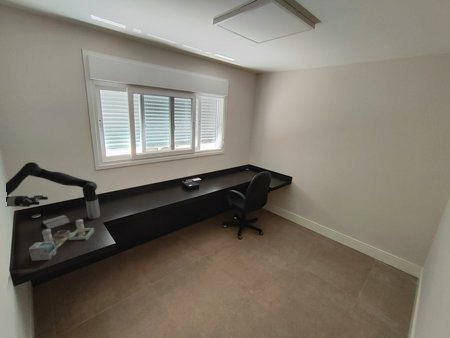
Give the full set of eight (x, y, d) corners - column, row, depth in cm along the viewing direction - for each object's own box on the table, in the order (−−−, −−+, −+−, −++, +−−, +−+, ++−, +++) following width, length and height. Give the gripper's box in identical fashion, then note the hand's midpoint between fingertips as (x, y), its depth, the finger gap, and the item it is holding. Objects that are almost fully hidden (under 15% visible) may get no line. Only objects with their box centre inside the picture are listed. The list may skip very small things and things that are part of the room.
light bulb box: (57, 254, 134) (54, 240, 131) (50, 261, 127) (47, 247, 124) (39, 255, 132) (35, 241, 129) (31, 262, 125) (27, 248, 122)
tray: (78, 232, 158) (77, 228, 157) (94, 231, 160) (93, 227, 159) (69, 241, 146) (68, 237, 145) (86, 240, 148) (85, 236, 147)
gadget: (72, 225, 168) (71, 221, 167) (49, 233, 156) (48, 229, 155) (64, 216, 181) (63, 213, 180) (42, 223, 169) (41, 219, 168)
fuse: (48, 244, 140) (44, 229, 136) (55, 244, 141) (52, 228, 137) (44, 249, 136) (39, 232, 132) (51, 248, 136) (47, 232, 133)
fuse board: (57, 234, 154) (56, 230, 153) (73, 234, 156) (73, 229, 154) (36, 253, 134) (35, 248, 133) (56, 251, 136) (55, 247, 135)
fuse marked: (80, 234, 155) (77, 219, 151) (86, 233, 155) (84, 219, 152) (77, 237, 150) (74, 222, 147) (83, 237, 151) (80, 222, 147)
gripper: (7, 200, 134) (34, 200, 136) (25, 192, 147) (49, 192, 150) (10, 210, 136) (37, 209, 138) (27, 201, 149) (51, 201, 152)
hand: (43, 200), depth 144 cm, fingers open, 8 cm apart
